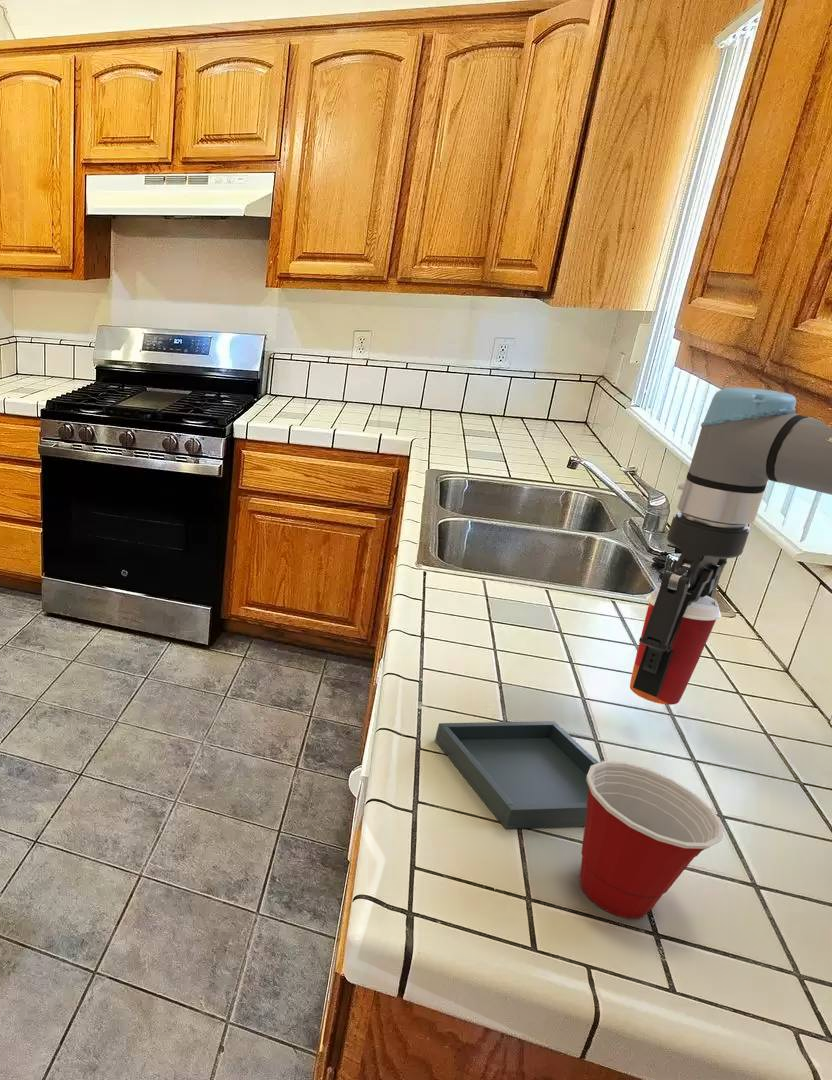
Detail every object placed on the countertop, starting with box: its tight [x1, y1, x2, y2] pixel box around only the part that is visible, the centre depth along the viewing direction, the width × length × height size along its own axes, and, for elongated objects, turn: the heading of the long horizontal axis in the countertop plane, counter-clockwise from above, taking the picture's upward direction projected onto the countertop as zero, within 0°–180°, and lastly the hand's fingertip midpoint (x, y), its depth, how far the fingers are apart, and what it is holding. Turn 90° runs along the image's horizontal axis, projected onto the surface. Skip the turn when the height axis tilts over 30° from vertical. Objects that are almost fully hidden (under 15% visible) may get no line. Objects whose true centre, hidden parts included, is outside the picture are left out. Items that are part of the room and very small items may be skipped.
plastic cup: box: [579, 760, 725, 919], centre depth 71 cm, size 11×11×12 cm
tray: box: [434, 720, 600, 830], centre depth 89 cm, size 16×16×3 cm
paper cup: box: [629, 586, 722, 706], centre depth 97 cm, size 8×8×14 cm
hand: (656, 683), depth 99 cm, fingers closed on paper cup, 6 cm apart
